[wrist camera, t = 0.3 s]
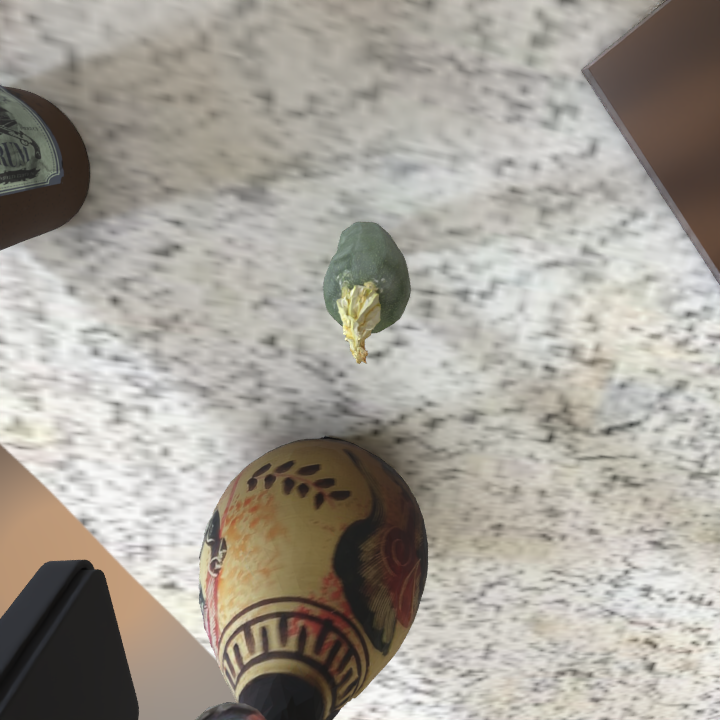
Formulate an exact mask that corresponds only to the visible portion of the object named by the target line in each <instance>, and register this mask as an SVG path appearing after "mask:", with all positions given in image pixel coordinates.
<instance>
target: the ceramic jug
mask: <svg viewBox="0 0 720 720" xmlns="http://www.w3.org/2000/svg"><path fill="white" fill-rule="evenodd" d="M199 559H200V564H199V565H200V574H199V590H200V594H199V604H200V607H201V611H202V615H203V619H204V628H205V630H206V632H207V634H208V637H209V640H210V644H211V647H212V648H213V650H214V653H215V656H216V659H217V662H218V665H219V668H220V670H221V672H222V674H223V677H224V678H225V681H226V683H227V685H228V686H229V688H230V690H231V692H232V694H233V696H234V698H235V700H236V703H231V702H226V703H223V704H220V705H216V706H213V707H209V708H207V709H206V710H205V711H204V712H203V713H202V714H201V715H200V716H199V717H198V718H197V719H196V720H333V719H334V717H335V716H336V715H337V714H338V712H339V711H340V709H341V708H342V707H343V706H344V705H345V704H346V703H347V702H349V701H351V699H352V698H356V697H357V696H358V695H359V694H360V693H361V692H362V691H363V690H364V689H365V688H366V687H367V686H368V684H369V683H370V682H371V681H372V680H373V679H374V678H375V677H376V676H377V674H378V673H379V672H380V671H381V670H382V669H383V668H384V667H385V666H386V665H387V663H388V662H389V661H390V660H391V659H392V658H393V656H394V655H395V654H396V652H397V651H398V649H399V648H400V646H401V644H402V643H403V641H404V639H405V638H406V636H407V634H408V632H409V630H410V628H411V626H412V624H413V622H414V619H415V616H416V613H417V611H418V608H419V604H420V601H421V597H422V594H423V591H424V587H425V582H426V578H427V571H428V542H427V535H426V529H425V524H424V519H423V516H422V514H421V511H420V508H419V505H418V503H417V501H416V499H415V497H414V495H413V494H412V493H411V491H410V489H409V487H408V485H407V484H406V483H405V481H404V480H403V479H402V478H401V476H400V475H399V474H398V473H397V472H396V471H395V470H394V469H393V468H392V467H391V466H389V465H388V464H387V463H385V462H384V461H383V460H382V459H380V458H379V457H377V456H375V455H373V454H371V453H370V452H368V451H366V450H364V449H362V448H360V447H358V446H357V445H355V444H353V443H350V442H347V441H344V440H340V439H336V438H331V437H326V436H325V437H323V438H321V439H304V440H298V441H295V442H292V443H289V444H286V445H283V446H280V447H278V448H276V449H274V450H272V451H269V452H268V453H266V454H265V455H263V456H261V457H260V458H258V459H257V460H255V461H254V462H252V463H251V464H249V465H248V466H247V467H246V468H245V469H244V470H242V471H241V472H240V473H239V474H238V475H237V476H236V477H235V478H234V479H233V480H232V481H231V483H230V484H229V486H228V487H227V489H226V490H225V492H224V494H223V495H222V497H221V499H220V500H219V502H218V504H217V506H216V508H215V510H214V512H213V515H212V517H211V519H210V520H209V522H208V525H207V527H206V530H205V533H204V540H203V543H202V549H201V552H200V557H199Z"/></svg>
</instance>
